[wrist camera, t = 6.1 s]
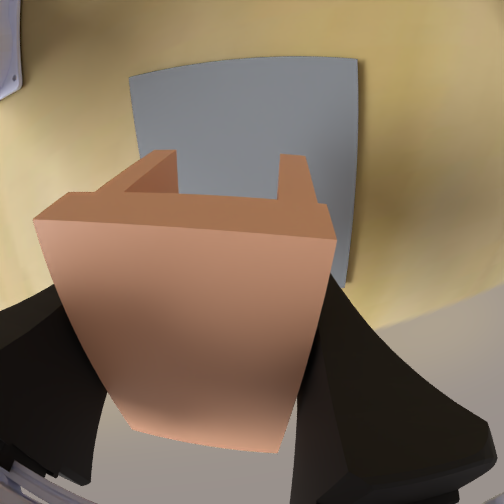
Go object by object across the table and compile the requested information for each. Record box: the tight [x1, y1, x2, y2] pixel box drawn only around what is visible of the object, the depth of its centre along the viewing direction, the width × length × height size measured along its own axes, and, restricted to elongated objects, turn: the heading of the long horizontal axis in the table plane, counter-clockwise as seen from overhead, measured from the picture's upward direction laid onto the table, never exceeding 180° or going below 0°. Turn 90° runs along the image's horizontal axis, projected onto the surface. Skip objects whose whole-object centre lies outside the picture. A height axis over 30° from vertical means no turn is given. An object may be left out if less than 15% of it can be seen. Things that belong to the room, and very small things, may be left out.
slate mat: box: [129, 56, 358, 288], centre depth 17 cm, size 14×12×1 cm
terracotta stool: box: [33, 150, 337, 453], centre depth 9 cm, size 5×8×6 cm, turn 178°
